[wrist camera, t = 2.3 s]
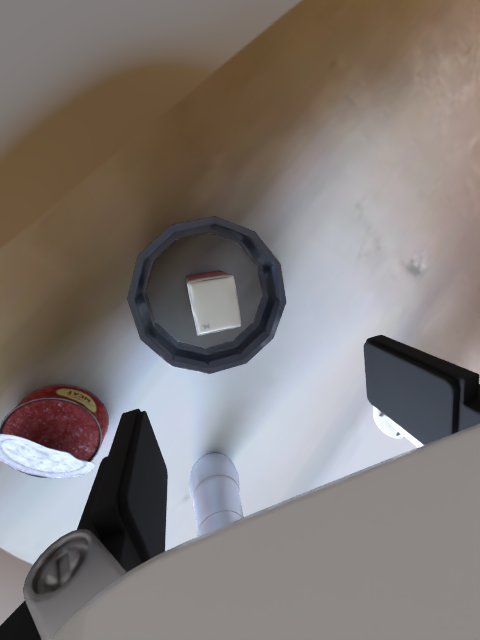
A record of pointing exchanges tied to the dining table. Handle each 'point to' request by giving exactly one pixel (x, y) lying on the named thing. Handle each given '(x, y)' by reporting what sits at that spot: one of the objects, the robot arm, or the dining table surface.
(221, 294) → the small box
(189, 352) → the ring
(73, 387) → the canned food
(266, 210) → the dining table surface
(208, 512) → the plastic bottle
